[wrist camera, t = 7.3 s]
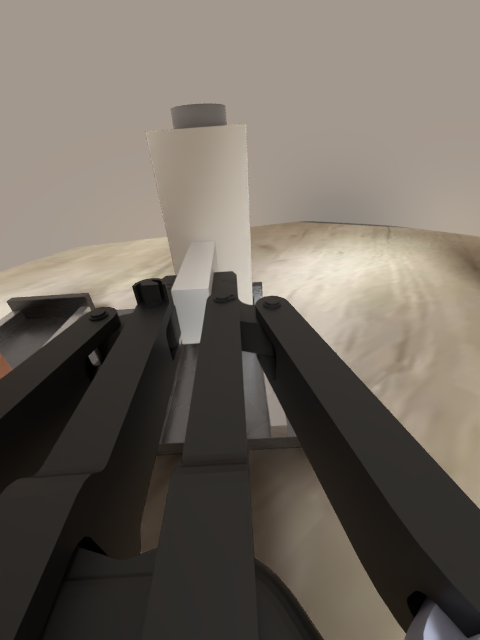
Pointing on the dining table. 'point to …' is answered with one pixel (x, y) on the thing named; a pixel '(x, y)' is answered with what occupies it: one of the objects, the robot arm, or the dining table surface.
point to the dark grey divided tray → (260, 400)
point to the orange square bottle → (4, 367)
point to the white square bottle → (205, 187)
